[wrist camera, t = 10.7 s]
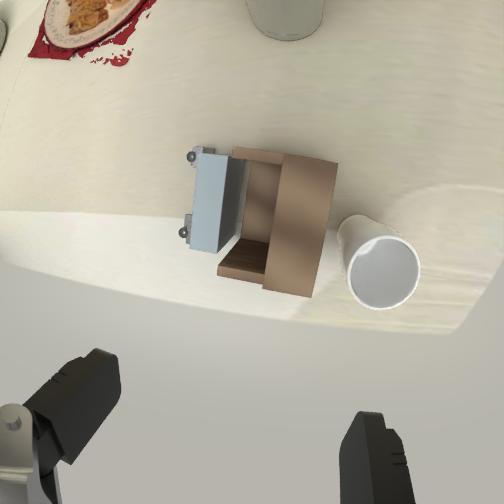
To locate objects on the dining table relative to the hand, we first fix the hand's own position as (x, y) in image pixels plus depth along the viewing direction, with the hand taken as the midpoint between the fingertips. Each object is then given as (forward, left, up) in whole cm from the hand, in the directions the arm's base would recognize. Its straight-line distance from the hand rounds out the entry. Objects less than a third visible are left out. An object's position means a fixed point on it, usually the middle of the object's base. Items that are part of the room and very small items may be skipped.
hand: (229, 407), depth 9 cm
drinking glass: (0, +9, -32) cm, 33 cm away
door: (-2, -8, -32) cm, 33 cm away
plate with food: (-35, -35, -33) cm, 59 cm away
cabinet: (-2, -1, -32) cm, 32 cm away
